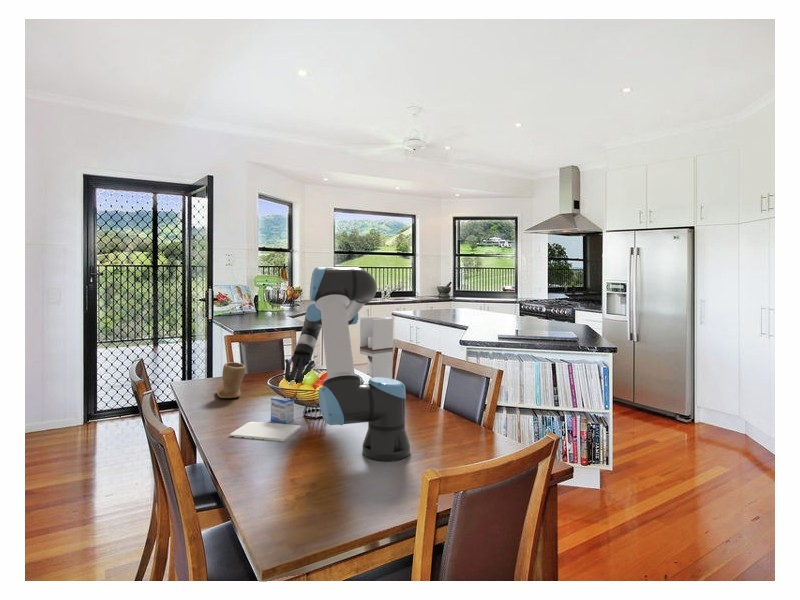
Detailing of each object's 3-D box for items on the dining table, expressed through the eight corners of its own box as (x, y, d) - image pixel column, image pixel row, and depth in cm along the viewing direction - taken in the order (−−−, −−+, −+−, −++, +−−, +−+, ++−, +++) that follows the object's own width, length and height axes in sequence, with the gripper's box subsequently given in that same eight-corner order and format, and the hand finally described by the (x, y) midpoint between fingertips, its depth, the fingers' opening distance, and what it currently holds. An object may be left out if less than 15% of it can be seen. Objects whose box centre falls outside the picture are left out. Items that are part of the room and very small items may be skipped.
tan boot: (246, 398, 207) (246, 365, 206) (217, 401, 202) (217, 366, 201) (243, 390, 221) (243, 358, 220) (216, 392, 216) (216, 360, 215)
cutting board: (284, 441, 157) (284, 439, 157) (229, 436, 161) (229, 434, 161) (300, 427, 171) (300, 425, 171) (250, 423, 174) (249, 421, 174)
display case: (378, 387, 232) (379, 316, 229) (392, 391, 224) (393, 318, 221) (359, 390, 224) (360, 317, 222) (372, 395, 216) (373, 319, 214)
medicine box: (270, 420, 178) (270, 398, 178) (278, 417, 182) (278, 395, 182) (286, 424, 175) (286, 401, 174) (294, 420, 179) (294, 398, 178)
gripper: (322, 353, 200) (306, 403, 185) (293, 352, 203) (276, 400, 188) (317, 343, 195) (301, 393, 180) (288, 341, 197) (269, 390, 182)
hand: (288, 396), depth 184 cm, fingers closed
